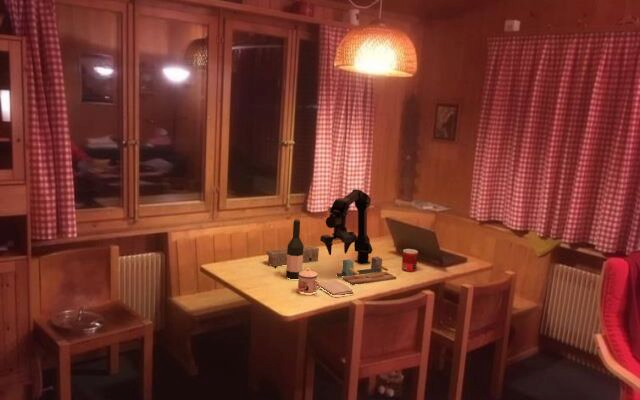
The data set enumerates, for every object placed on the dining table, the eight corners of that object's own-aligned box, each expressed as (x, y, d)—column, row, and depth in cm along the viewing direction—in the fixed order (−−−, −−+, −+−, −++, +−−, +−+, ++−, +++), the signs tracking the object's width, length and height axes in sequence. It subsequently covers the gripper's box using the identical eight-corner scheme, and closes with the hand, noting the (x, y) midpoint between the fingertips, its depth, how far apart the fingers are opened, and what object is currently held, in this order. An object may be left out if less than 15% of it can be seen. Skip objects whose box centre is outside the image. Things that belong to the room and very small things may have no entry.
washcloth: (334, 299, 262) (334, 293, 261) (313, 287, 276) (314, 281, 276) (355, 295, 268) (355, 289, 267) (334, 283, 283) (334, 277, 282)
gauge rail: (335, 275, 294) (336, 261, 293) (378, 269, 307) (379, 256, 306) (347, 282, 284) (348, 268, 282) (391, 276, 297) (392, 263, 296)
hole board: (342, 279, 288) (342, 276, 288) (385, 273, 301) (386, 271, 301) (352, 285, 280) (352, 282, 280) (396, 279, 294) (396, 276, 293)
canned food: (415, 273, 306) (417, 253, 303) (400, 271, 307) (402, 251, 305) (416, 269, 313) (418, 249, 311) (401, 267, 314) (403, 248, 312)
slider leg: (341, 273, 296) (342, 259, 295) (348, 272, 298) (349, 259, 297) (354, 281, 286) (355, 266, 284) (361, 280, 288) (362, 266, 286)
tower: (310, 259, 323) (265, 263, 306) (311, 244, 321) (266, 248, 305) (318, 263, 316) (272, 268, 300) (319, 248, 315) (273, 252, 299)
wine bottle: (305, 276, 289) (308, 219, 283) (297, 281, 281) (300, 222, 276) (290, 273, 292) (293, 216, 286) (282, 278, 285) (285, 219, 279)
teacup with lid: (293, 291, 267) (294, 267, 265) (306, 287, 274) (307, 264, 272) (312, 298, 259) (313, 274, 257) (325, 294, 266) (326, 270, 264)
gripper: (332, 229, 275) (330, 260, 278) (364, 227, 284) (361, 257, 287) (320, 224, 284) (318, 254, 287) (352, 222, 294) (349, 251, 296)
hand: (337, 254), depth 289 cm, fingers open, 9 cm apart
